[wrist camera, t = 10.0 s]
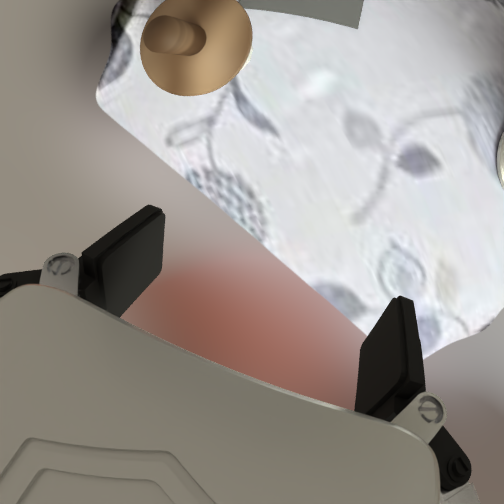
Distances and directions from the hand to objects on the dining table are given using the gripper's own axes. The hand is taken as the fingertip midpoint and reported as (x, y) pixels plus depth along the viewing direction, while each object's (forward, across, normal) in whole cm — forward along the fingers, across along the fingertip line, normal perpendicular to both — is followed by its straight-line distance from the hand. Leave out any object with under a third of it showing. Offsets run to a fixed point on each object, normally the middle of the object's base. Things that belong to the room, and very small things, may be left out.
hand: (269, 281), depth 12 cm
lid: (+17, +14, -9) cm, 24 cm away
